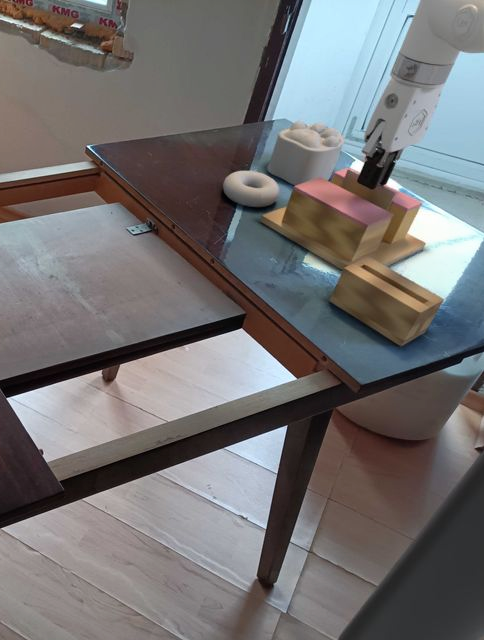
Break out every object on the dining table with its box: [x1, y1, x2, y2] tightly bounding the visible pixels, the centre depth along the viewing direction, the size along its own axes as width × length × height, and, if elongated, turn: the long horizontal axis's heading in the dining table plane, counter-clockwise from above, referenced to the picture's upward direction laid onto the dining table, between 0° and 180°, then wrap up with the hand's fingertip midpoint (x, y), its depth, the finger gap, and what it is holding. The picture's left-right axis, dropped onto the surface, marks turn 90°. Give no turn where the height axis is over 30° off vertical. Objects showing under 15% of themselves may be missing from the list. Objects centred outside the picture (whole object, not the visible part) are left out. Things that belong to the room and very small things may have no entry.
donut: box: [222, 170, 281, 208], centre depth 124 cm, size 10×4×10 cm
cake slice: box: [330, 166, 423, 244], centre depth 116 cm, size 14×4×7 cm, turn 35°
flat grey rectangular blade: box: [341, 148, 397, 211], centre depth 113 cm, size 9×2×13 cm, turn 35°
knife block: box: [328, 257, 445, 347], centre depth 98 cm, size 12×6×6 cm, turn 34°
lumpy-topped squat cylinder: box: [266, 120, 345, 186], centre depth 132 cm, size 10×13×9 cm
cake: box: [259, 177, 427, 271], centre depth 114 cm, size 20×18×8 cm
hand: (371, 182), depth 112 cm, fingers closed on flat grey rectangular blade, 2 cm apart
